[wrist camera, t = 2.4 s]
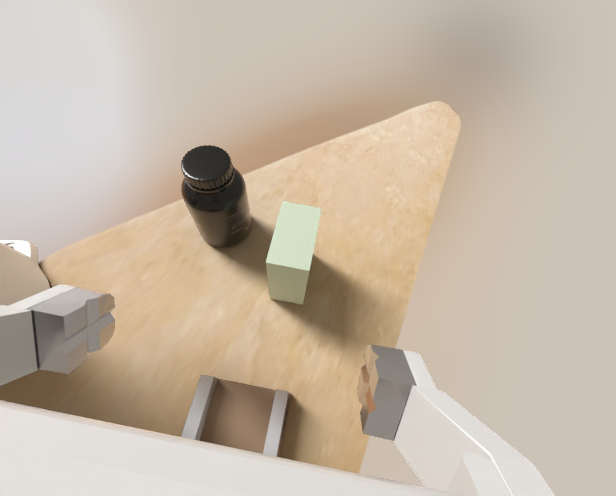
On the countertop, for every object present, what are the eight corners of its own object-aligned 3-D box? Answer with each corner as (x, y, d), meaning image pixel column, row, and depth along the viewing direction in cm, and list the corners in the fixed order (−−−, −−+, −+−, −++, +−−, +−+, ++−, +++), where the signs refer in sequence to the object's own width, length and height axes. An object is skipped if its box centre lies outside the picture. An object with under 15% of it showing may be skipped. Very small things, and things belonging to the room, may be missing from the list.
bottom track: (248, 624, 22) (236, 703, 16) (134, 600, 22) (82, 668, 16) (290, 393, 30) (292, 391, 24) (205, 376, 30) (187, 370, 24)
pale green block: (302, 304, 34) (309, 270, 25) (270, 298, 34) (265, 262, 26) (312, 254, 38) (321, 208, 29) (282, 248, 38) (282, 201, 29)
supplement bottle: (189, 236, 37) (152, 171, 27) (218, 199, 41) (196, 128, 30) (235, 258, 36) (215, 198, 26) (261, 218, 40) (253, 151, 29)
